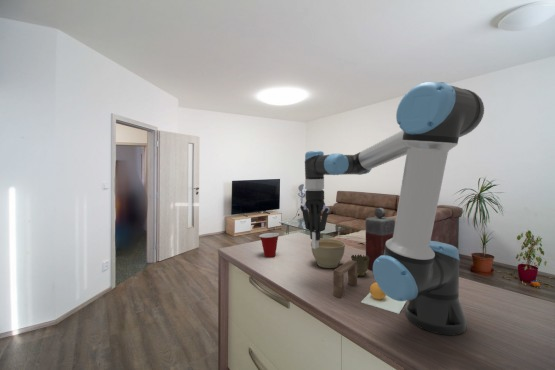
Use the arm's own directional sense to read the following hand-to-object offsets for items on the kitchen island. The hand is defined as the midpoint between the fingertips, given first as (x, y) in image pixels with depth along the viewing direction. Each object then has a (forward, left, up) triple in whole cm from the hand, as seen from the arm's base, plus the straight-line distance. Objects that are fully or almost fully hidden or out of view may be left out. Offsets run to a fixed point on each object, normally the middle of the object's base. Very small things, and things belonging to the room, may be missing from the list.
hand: (315, 247), depth 104 cm
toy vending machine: (-17, -30, -14) cm, 37 cm away
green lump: (-12, -17, -14) cm, 25 cm away
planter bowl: (+5, -20, -14) cm, 25 cm away
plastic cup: (+37, -14, -14) cm, 42 cm away
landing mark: (-27, 0, -14) cm, 30 cm away
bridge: (-13, 0, -14) cm, 19 cm away
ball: (-25, 0, -11) cm, 27 cm away
